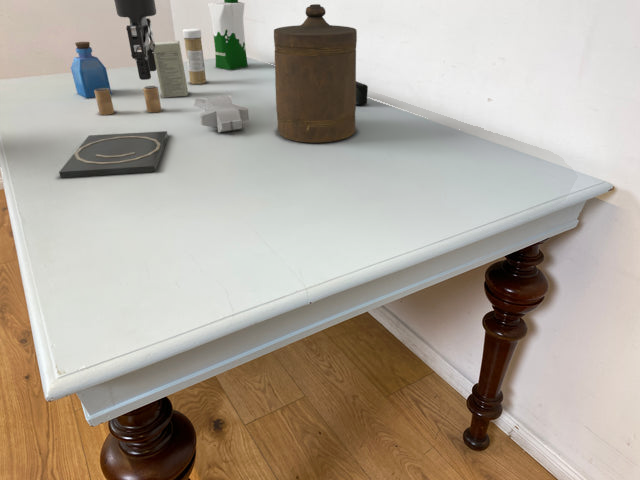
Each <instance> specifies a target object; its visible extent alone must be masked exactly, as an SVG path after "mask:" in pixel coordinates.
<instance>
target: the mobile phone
mask: <svg viewBox="0 0 640 480" xmlns="http://www.w3.org/2000/svg"><path fill="white" fill-rule="evenodd" d="M368 89H369V85H367V84H365V83H362V82H359V81H357V80H356V106H366V105H367V103H368Z"/></svg>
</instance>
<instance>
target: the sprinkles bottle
mask: <svg viewBox="0 0 640 480" xmlns="http://www.w3.org/2000/svg"><path fill="white" fill-rule="evenodd" d="M182 37H183V40H184V46H185V47H184V48H185V54H186V55H185V56H186V64H187V71H188V75H189V83H190V84H191V85H203V84H206V83H207V78H206V65H205V58H204V50H203V45H202V31H201V29H200V28H185V29H182Z"/></svg>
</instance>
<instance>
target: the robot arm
mask: <svg viewBox="0 0 640 480" xmlns="http://www.w3.org/2000/svg"><path fill="white" fill-rule="evenodd" d="M114 5H115V11H116V14H117V16H118V17H120V18H128V20H129V25H126V27H125V29H126V33H127V37H128V42H129V48H130V53H131V58H132V59H133V60H134V61H135V62H136V67H137V72H138V77H139V79H140V80H141V81H144V80H145V81H146V80H151V78H152V74H151V72H157V69H156V63H155V57H154V53H153V52H154V50H155V49H154V48H155V44H154V42H155V40H154V34H153V28H152V20H151V18H148V17H153V16H155V15H157V7H156V1H155V0H114Z"/></svg>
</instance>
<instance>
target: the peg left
mask: <svg viewBox="0 0 640 480" xmlns="http://www.w3.org/2000/svg"><path fill="white" fill-rule="evenodd" d="M94 92H95V96H96V97H95V99H96V105H97V109H98V113H99V115H101V116H107V115H108V116H110V115H113V114H115V109H114V104H113V99H112V96H111V95H112V94H110V90H109V89H108V88H98V89H96V90H94Z"/></svg>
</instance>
